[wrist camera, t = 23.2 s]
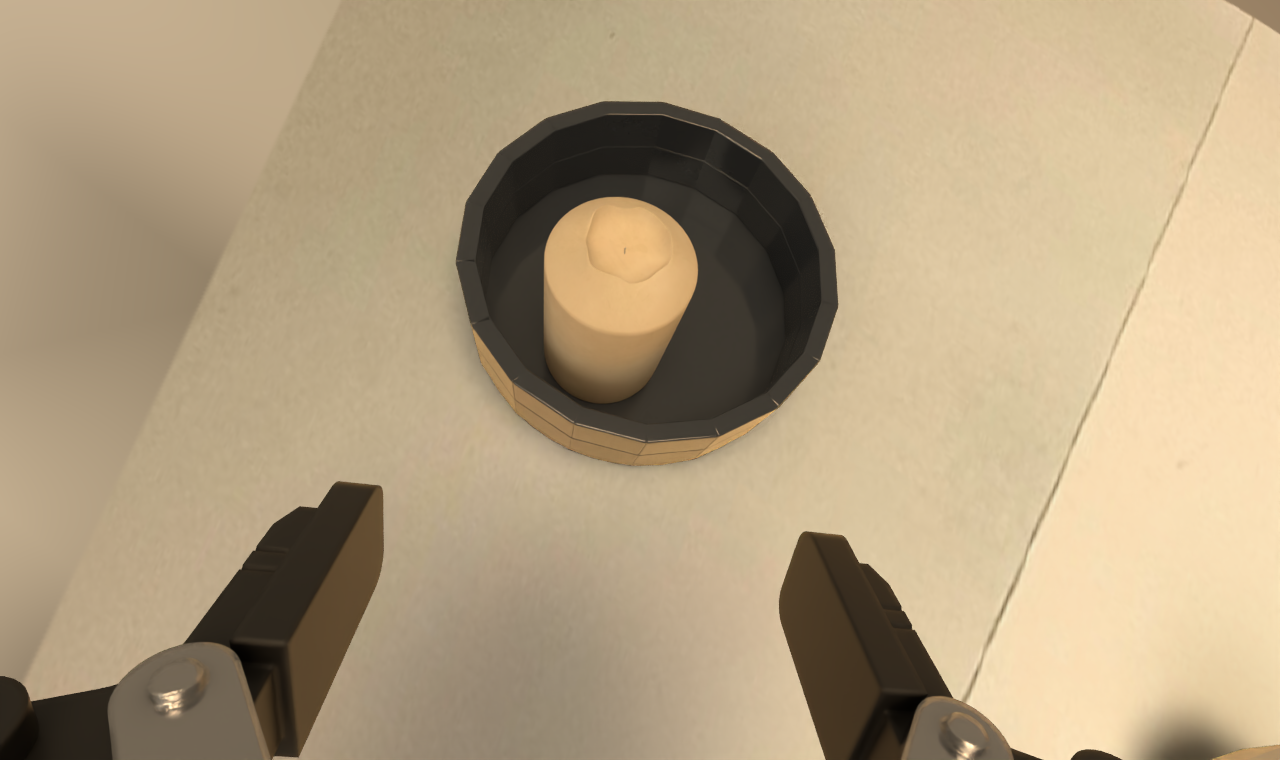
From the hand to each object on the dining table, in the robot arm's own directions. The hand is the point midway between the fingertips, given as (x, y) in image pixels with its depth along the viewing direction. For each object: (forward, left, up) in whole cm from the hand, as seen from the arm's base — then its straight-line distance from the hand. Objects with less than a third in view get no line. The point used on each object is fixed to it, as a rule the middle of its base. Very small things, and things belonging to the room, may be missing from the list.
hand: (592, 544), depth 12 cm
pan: (+11, +8, -16) cm, 21 cm away
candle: (+7, +7, -16) cm, 19 cm away
